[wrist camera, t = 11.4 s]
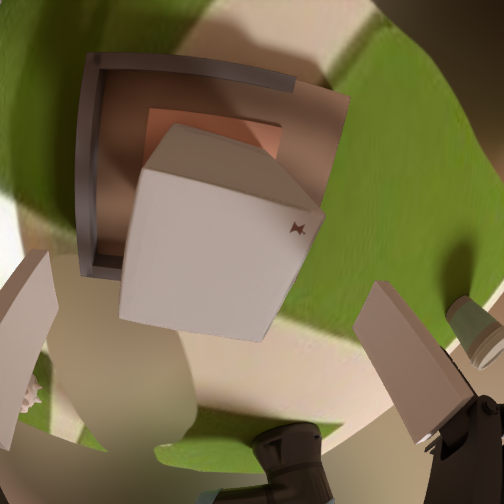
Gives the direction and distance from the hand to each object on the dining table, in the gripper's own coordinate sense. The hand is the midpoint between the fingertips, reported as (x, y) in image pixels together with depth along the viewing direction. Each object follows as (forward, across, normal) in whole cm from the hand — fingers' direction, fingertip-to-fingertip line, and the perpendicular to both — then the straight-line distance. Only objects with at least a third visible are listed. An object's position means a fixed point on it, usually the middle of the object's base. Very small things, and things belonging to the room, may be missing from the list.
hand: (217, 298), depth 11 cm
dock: (+17, 0, -1) cm, 17 cm away
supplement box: (+14, 0, -1) cm, 14 cm away
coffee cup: (+18, -45, +14) cm, 50 cm away
